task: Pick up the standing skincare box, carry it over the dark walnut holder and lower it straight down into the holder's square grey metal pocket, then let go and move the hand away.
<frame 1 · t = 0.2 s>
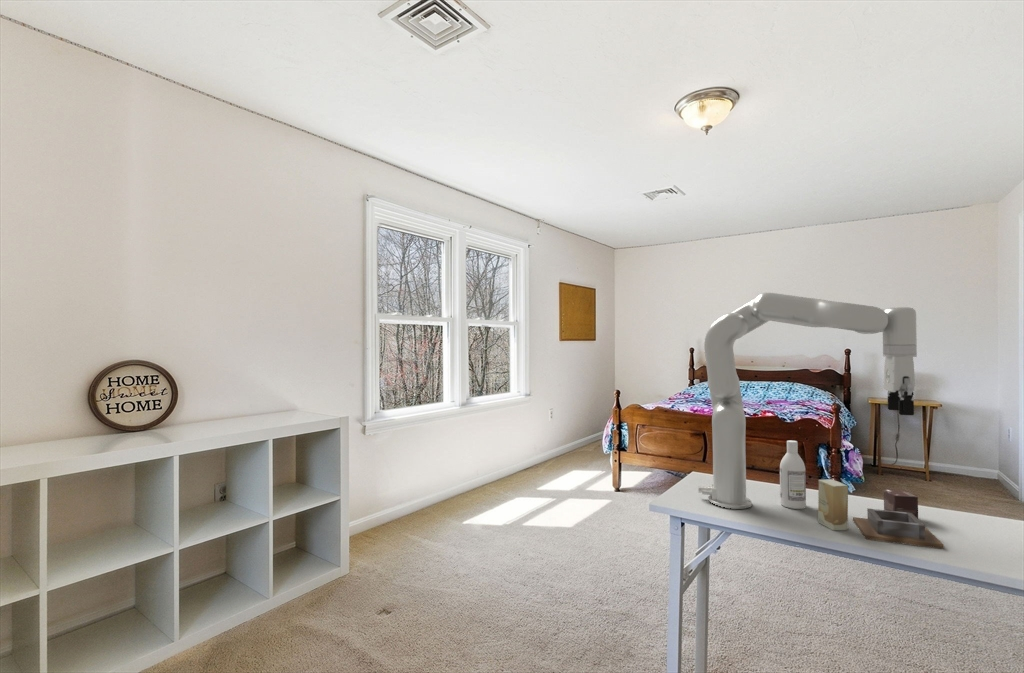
hand: (900, 412, 140), 31 cm above the table, tool pointing down, fingers open, 9 cm apart
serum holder: (894, 533, 132), on the table
box: (900, 519, 143), on the table
bath foam: (792, 506, 155), on the table
skincare box: (833, 527, 138), on the table
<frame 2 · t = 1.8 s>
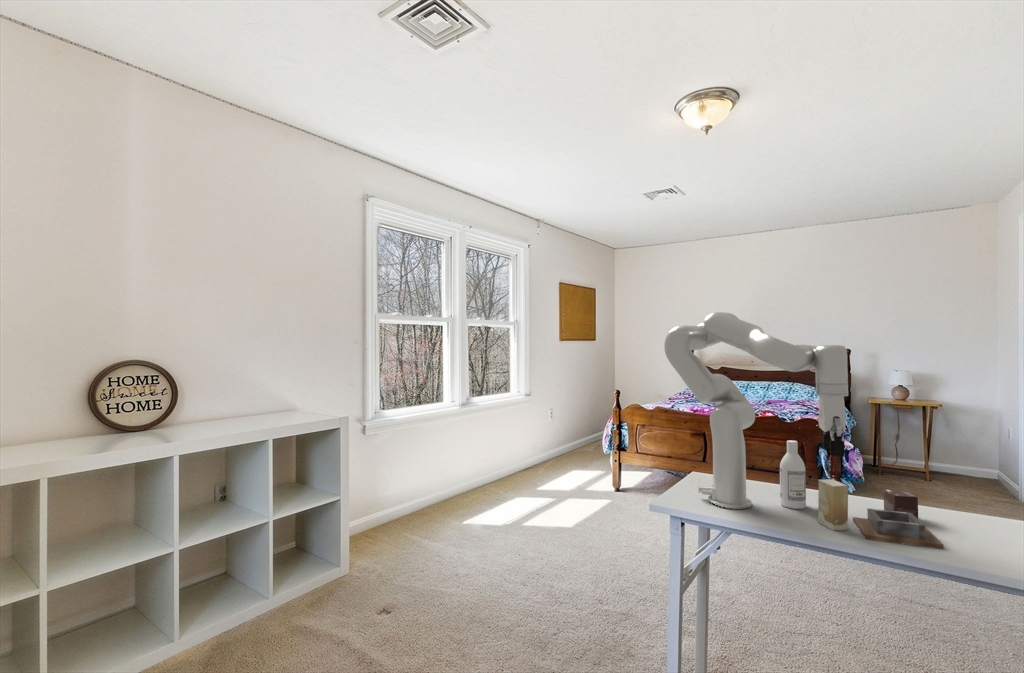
hand: (833, 452, 138), 21 cm above the table, tool pointing down, fingers open, 9 cm apart
nothing on the table moved.
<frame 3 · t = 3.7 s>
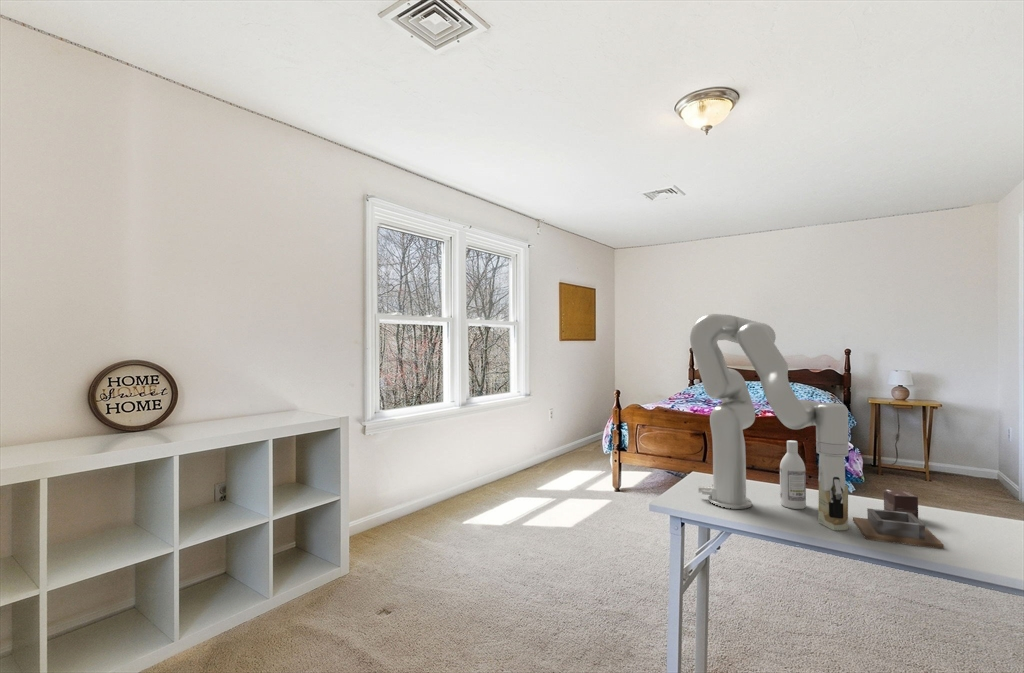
hand: (833, 512, 138), 4 cm above the table, tool pointing down, fingers closed on skincare box, 7 cm apart
skincare box: (833, 527, 138), on the table, touching gripper
everything else where it was.
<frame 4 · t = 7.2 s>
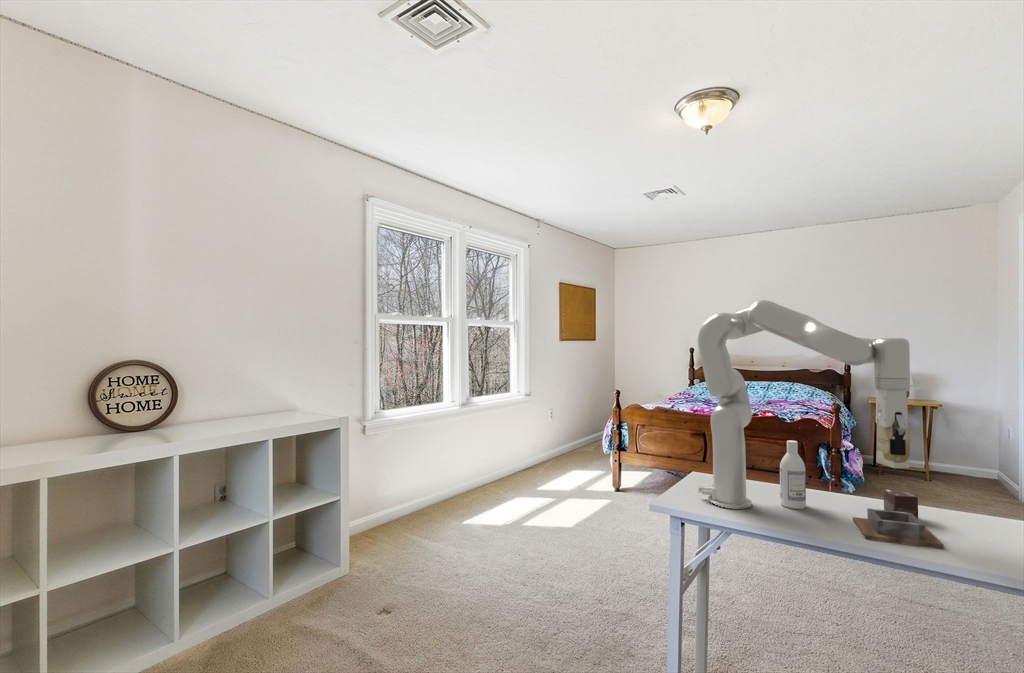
hand: (892, 451, 132), 22 cm above the table, tool pointing down, fingers closed on skincare box, 7 cm apart
skincare box: (893, 466, 132), point 18 cm above the table, touching gripper
everything else where it was.
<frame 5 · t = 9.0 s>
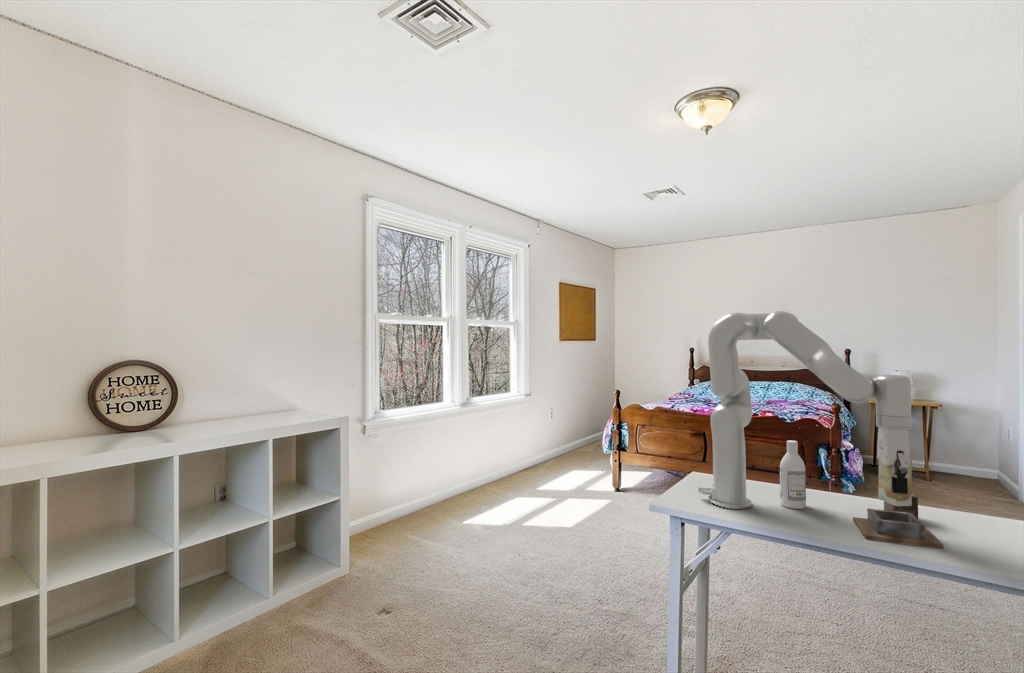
hand: (894, 488, 132), 12 cm above the table, tool pointing down, fingers closed on skincare box, 7 cm apart
skincare box: (895, 503, 132), point 8 cm above the table, touching gripper
everything else where it was.
when the fingers open (6 cm above the table, at t = 10.7 s): skincare box drops 1 cm, resting on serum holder.
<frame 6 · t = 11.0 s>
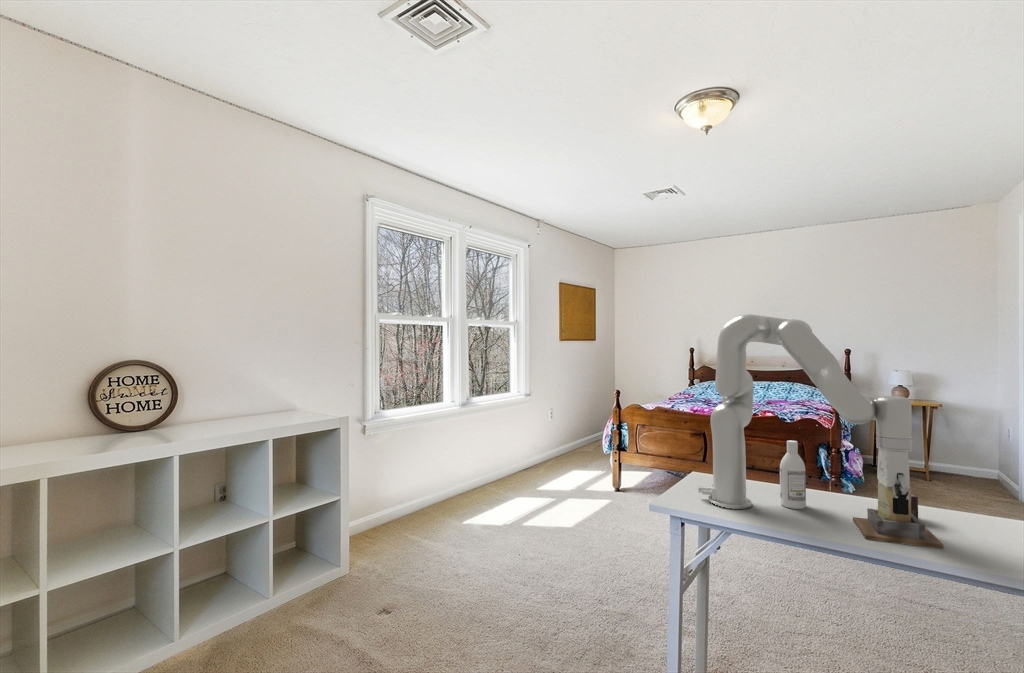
hand: (894, 507, 132), 7 cm above the table, tool pointing down, fingers open, 9 cm apart
skincare box: (894, 530, 132), point 1 cm above the table, touching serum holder
everything else where it was.
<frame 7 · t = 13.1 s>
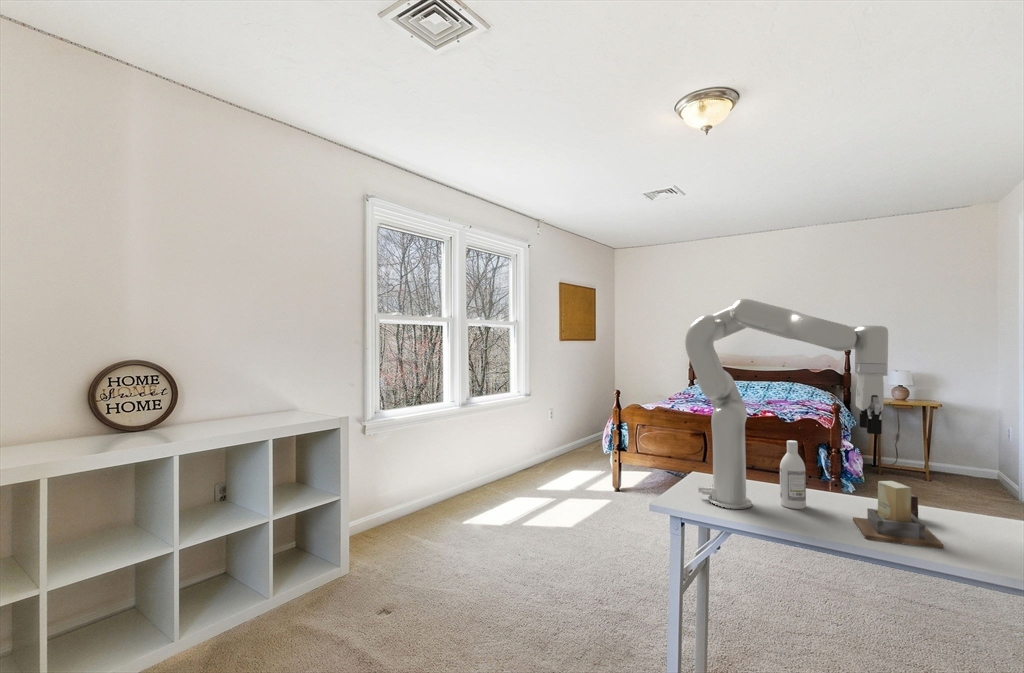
hand: (869, 430, 140), 26 cm above the table, tool pointing down, fingers open, 9 cm apart
nothing on the table moved.
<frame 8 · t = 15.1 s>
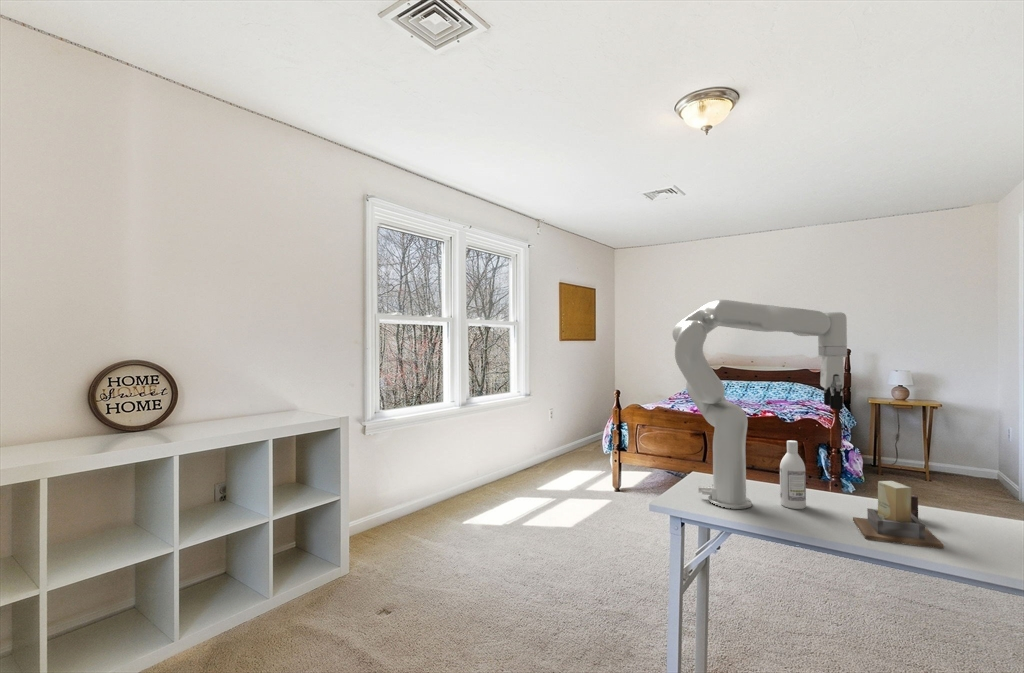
hand: (833, 406, 156), 30 cm above the table, tool pointing down, fingers open, 9 cm apart
nothing on the table moved.
at the end: skincare box 0.3 cm off-centre on the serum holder, point 0.8 cm above the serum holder's base; skincare box tilted 0°; the gripper is holding nothing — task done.
